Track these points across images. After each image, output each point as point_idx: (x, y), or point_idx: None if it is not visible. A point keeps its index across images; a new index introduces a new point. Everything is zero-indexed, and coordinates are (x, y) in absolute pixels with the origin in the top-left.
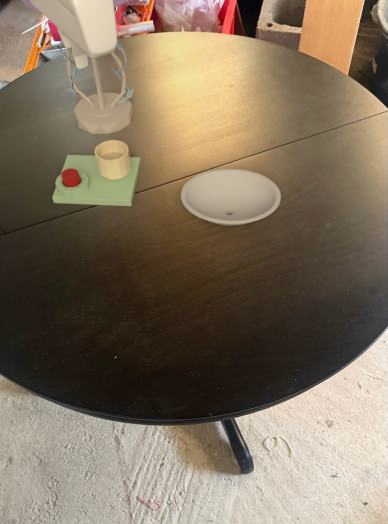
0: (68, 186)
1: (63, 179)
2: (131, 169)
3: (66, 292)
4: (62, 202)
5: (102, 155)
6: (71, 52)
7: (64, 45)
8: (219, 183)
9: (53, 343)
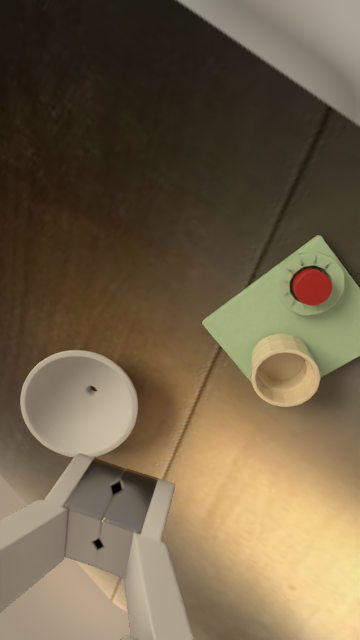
0: (303, 270)
1: (314, 270)
2: None
3: (127, 116)
4: (302, 246)
5: (307, 365)
6: (90, 518)
7: (163, 551)
8: (120, 420)
9: (56, 31)
